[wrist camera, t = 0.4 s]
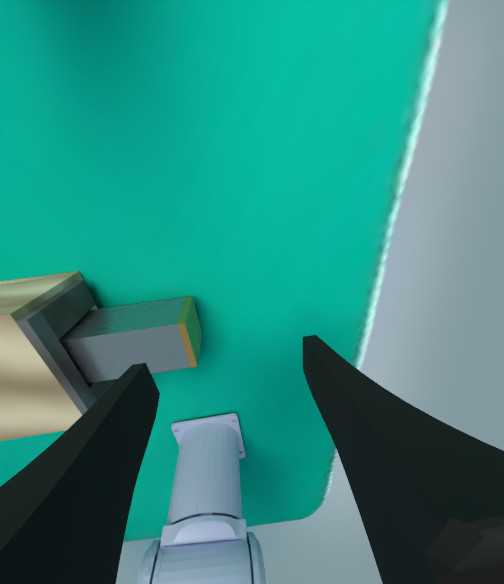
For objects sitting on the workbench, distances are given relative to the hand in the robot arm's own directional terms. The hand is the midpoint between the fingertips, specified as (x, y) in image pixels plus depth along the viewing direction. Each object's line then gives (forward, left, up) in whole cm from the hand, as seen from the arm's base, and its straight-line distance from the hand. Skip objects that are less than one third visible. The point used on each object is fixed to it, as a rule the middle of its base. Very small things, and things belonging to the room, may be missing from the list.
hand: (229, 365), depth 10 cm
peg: (-3, +10, -9) cm, 14 cm away
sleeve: (-3, +16, -10) cm, 20 cm away
